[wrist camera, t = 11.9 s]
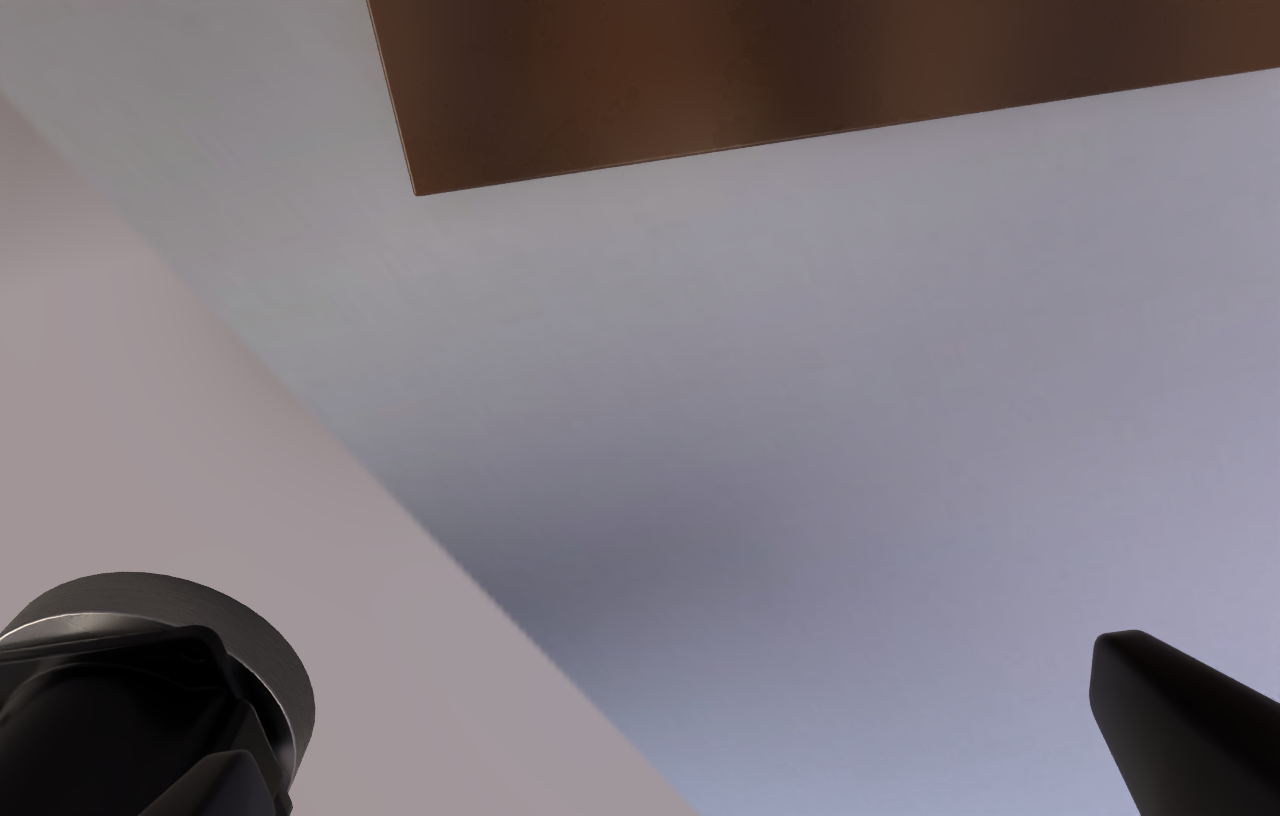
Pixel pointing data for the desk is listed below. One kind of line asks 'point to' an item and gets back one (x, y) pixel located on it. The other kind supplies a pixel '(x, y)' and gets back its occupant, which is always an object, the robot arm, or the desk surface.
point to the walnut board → (761, 71)
